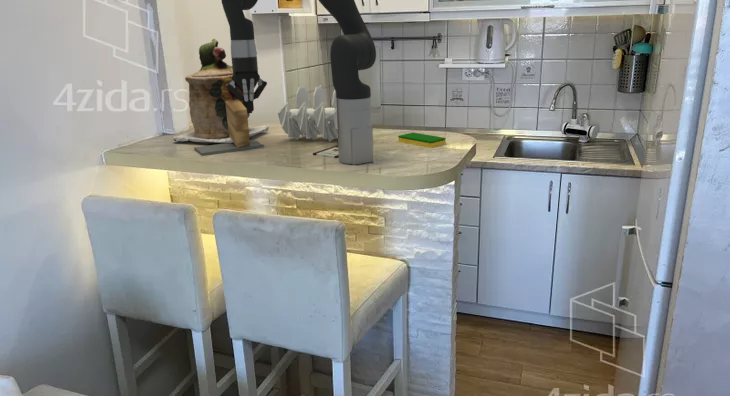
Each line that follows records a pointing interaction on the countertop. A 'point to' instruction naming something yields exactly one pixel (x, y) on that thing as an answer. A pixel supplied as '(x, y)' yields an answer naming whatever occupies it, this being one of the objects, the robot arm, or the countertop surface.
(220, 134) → the cookie jar
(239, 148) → the rubber mat
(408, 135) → the dish sponge
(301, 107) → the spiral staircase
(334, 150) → the chocolate bar
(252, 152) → the countertop surface
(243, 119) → the tall wooden block
